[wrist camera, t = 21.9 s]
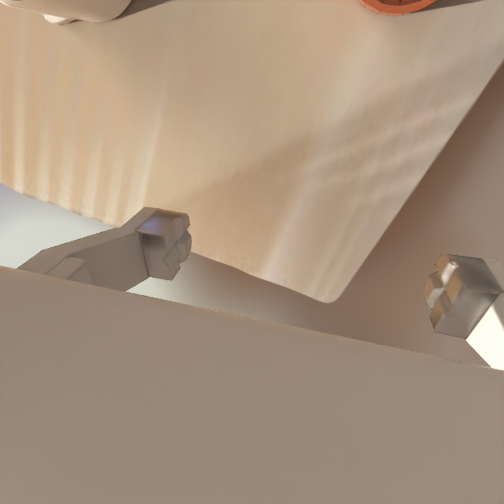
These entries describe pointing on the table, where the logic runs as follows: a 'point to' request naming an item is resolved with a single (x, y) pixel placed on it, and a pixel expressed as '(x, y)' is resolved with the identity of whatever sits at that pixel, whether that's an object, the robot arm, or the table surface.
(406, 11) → the dish
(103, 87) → the table surface
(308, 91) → the table surface
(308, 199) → the table surface
